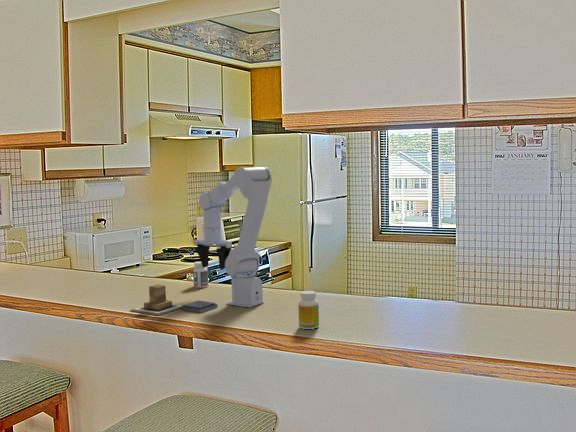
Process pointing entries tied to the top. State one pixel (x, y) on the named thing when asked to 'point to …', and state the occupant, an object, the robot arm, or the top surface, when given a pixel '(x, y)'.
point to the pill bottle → (200, 275)
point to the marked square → (157, 313)
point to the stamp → (157, 299)
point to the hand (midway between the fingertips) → (213, 267)
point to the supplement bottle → (308, 310)
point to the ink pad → (199, 306)
